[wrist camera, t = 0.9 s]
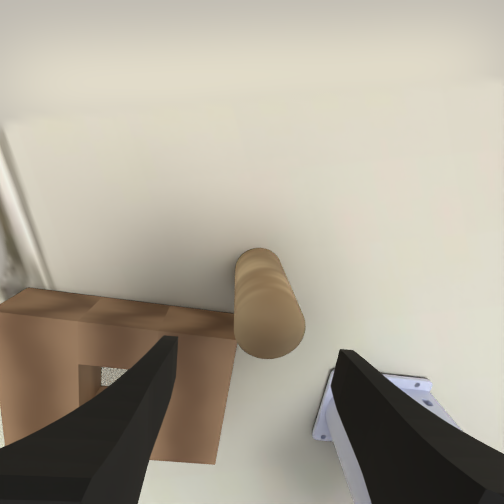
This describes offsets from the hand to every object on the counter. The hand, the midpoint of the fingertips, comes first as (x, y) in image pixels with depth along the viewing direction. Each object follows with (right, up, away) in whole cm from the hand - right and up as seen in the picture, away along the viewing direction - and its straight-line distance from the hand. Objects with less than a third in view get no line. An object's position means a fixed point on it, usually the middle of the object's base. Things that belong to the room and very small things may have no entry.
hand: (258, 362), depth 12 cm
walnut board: (-10, -5, +11) cm, 16 cm away
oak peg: (0, +3, +9) cm, 10 cm away
